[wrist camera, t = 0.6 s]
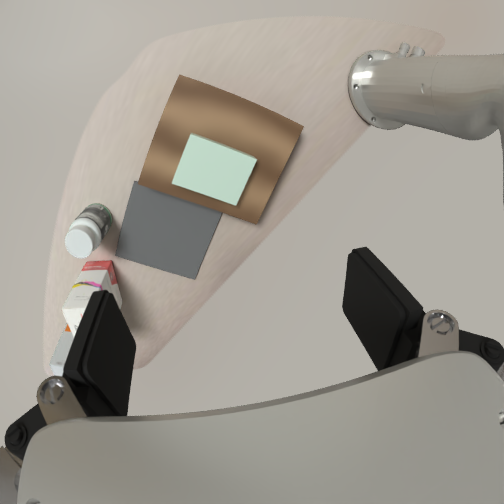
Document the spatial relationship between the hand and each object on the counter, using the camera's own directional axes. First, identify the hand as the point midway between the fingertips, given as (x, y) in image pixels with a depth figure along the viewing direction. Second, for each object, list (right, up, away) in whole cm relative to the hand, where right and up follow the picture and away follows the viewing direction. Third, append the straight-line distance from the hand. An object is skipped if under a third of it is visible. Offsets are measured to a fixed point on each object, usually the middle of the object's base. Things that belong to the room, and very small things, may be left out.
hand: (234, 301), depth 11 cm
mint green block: (-4, +12, +22) cm, 25 cm away
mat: (-12, +5, +29) cm, 32 cm away
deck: (-4, +15, +25) cm, 29 cm away
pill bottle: (-22, +7, +26) cm, 35 cm away
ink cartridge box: (-23, -3, +32) cm, 40 cm away
